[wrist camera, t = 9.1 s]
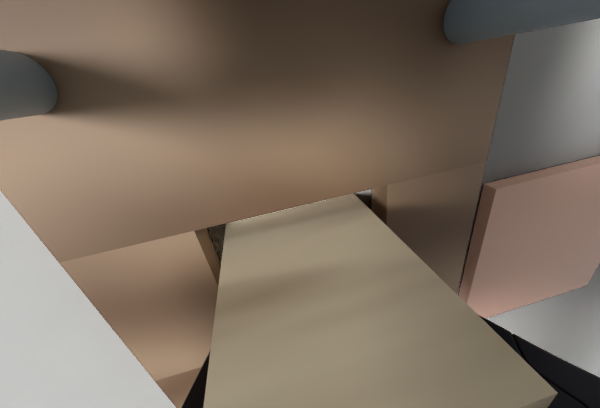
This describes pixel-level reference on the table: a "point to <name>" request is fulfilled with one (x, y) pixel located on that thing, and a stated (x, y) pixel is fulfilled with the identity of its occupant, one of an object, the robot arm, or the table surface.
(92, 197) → the puzzle board
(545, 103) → the table surface
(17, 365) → the table surface
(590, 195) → the terracotta tile
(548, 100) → the table surface
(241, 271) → the maple block
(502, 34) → the light blue toy bench
